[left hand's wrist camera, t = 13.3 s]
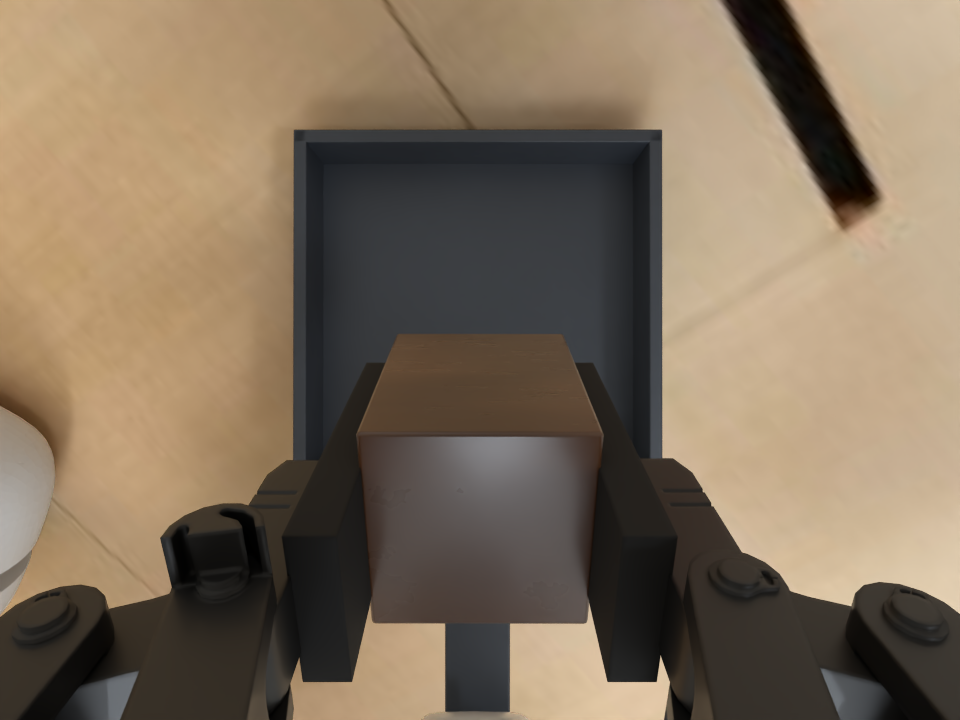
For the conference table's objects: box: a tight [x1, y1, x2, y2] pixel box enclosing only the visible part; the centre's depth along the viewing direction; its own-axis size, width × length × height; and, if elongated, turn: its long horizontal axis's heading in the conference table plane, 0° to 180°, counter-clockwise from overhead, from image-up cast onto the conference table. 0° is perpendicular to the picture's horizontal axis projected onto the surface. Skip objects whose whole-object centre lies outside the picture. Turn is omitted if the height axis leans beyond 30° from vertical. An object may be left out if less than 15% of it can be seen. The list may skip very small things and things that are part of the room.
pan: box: [293, 130, 662, 712], centre depth 27 cm, size 17×29×9 cm, turn 0°
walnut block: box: [356, 334, 604, 624], centre depth 12 cm, size 4×4×5 cm
